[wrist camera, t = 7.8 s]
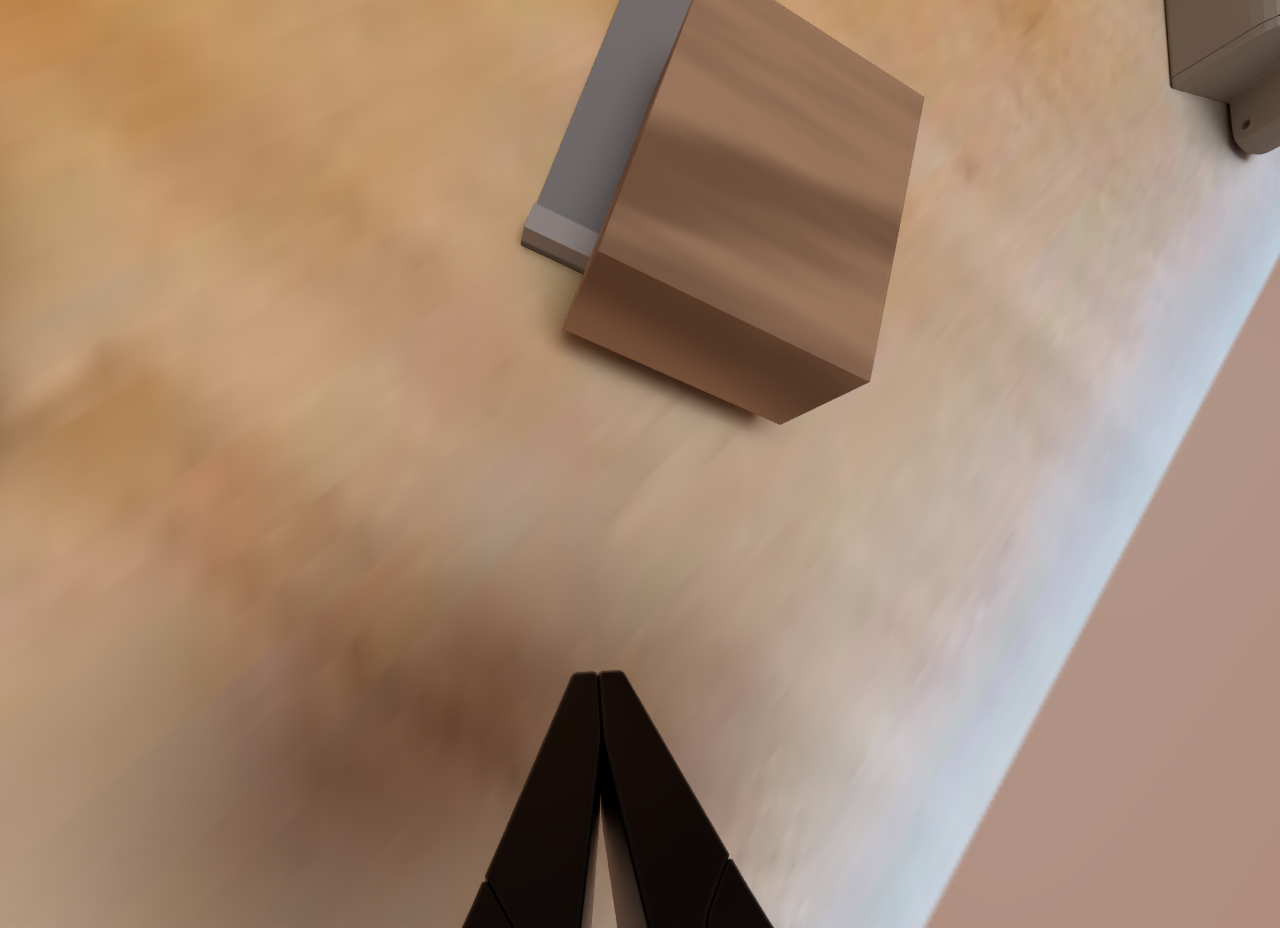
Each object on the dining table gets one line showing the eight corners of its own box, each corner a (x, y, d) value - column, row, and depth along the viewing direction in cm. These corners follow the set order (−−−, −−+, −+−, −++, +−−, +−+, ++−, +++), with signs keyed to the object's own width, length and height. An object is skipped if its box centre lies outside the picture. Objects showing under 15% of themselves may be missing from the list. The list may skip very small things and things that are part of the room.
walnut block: (869, 381, 17) (924, 96, 21) (597, 250, 15) (709, -42, 19) (780, 424, 22) (836, 186, 25) (562, 329, 20) (657, 83, 23)
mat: (823, 385, 25) (845, 378, 24) (521, 244, 22) (524, 226, 20) (908, 103, 27) (932, 80, 26) (646, -63, 24) (657, -99, 23)
